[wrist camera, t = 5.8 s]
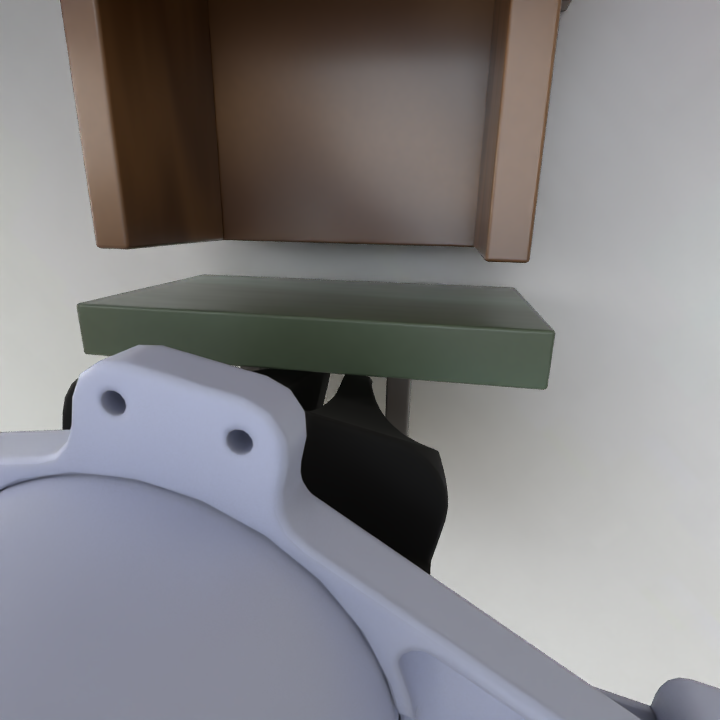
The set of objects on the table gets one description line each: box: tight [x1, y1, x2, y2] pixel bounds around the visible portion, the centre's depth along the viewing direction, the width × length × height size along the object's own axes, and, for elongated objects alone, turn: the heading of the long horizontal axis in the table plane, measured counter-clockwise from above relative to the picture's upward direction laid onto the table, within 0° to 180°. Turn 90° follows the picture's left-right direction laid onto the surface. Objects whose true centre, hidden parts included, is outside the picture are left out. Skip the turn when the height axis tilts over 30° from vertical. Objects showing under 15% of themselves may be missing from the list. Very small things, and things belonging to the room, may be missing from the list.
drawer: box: [60, 0, 562, 437], centre depth 11 cm, size 17×10×6 cm, turn 179°
